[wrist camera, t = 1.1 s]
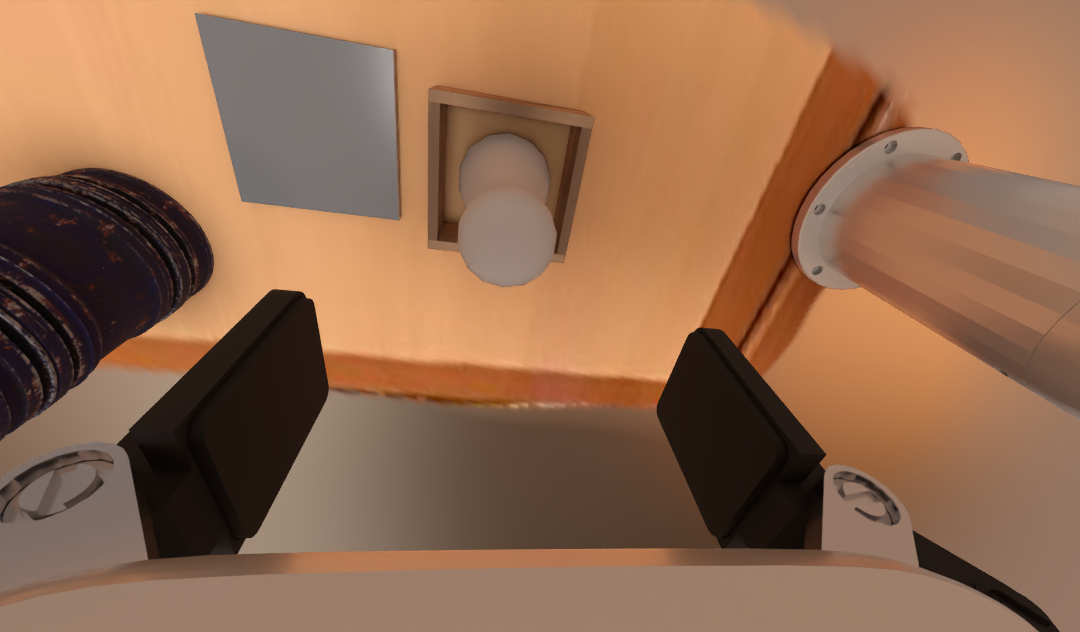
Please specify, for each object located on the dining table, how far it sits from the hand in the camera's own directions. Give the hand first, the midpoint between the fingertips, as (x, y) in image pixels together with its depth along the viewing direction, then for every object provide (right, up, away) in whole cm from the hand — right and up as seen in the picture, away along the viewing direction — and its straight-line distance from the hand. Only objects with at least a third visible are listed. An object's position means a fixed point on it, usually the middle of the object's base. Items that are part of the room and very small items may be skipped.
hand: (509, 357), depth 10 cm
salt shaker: (-2, +11, +17) cm, 20 cm away
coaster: (-13, +13, +14) cm, 23 cm away
